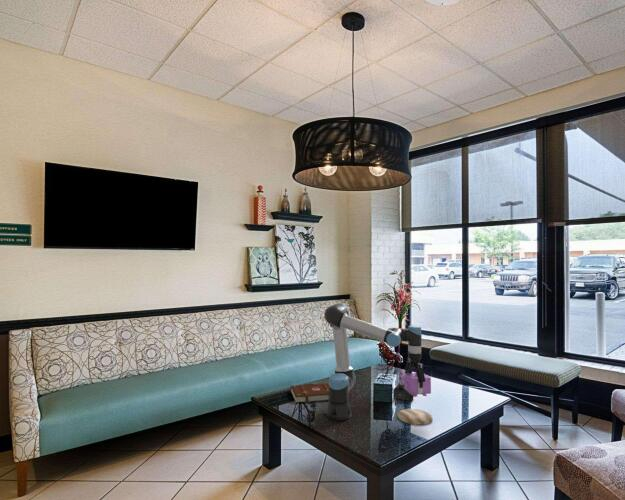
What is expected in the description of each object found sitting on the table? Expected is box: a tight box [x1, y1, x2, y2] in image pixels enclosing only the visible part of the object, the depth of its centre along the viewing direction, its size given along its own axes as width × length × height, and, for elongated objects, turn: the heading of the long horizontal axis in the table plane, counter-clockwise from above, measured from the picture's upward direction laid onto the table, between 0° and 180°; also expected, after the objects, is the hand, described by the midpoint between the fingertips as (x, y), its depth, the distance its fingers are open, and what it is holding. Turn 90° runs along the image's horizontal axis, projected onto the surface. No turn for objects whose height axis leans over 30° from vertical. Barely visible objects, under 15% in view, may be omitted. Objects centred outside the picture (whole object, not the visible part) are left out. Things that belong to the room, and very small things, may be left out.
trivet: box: [397, 408, 433, 426], centre depth 225 cm, size 20×20×1 cm
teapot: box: [399, 371, 432, 398], centre depth 226 cm, size 20×10×12 cm, turn 101°
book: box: [289, 382, 329, 404], centre depth 262 cm, size 23×32×5 cm
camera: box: [392, 382, 415, 402], centre depth 256 cm, size 13×10×10 cm
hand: (414, 389), depth 225 cm, fingers closed on teapot, 10 cm apart
